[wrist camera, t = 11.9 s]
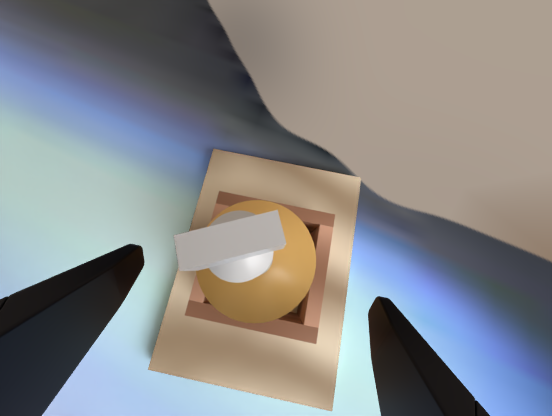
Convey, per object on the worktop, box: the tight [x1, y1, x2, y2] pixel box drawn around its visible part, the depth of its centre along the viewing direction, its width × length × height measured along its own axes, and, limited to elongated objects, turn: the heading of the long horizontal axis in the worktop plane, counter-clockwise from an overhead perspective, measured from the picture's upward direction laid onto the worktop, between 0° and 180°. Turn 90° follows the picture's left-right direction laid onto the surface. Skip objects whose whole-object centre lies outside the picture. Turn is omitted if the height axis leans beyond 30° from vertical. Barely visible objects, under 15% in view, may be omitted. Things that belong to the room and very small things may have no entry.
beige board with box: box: [148, 149, 361, 411], centre depth 16 cm, size 16×12×4 cm
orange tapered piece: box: [174, 200, 316, 323], centre depth 10 cm, size 4×4×15 cm
